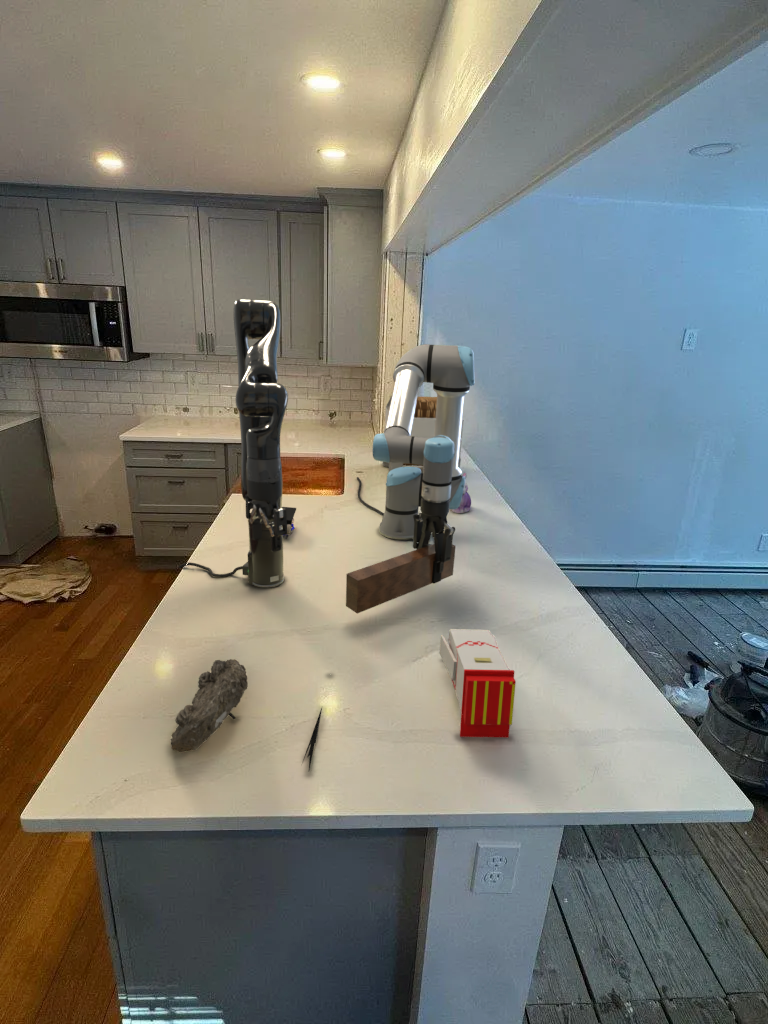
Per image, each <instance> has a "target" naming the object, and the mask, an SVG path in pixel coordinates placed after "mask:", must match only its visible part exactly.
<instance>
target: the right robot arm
mask: <svg viewBox="0 0 768 1024" xmlns="http://www.w3.org/2000/svg"><path fill="white" fill-rule="evenodd" d="M392 379H393V384H394V385H393V388H392V393H391V396H392V397H391V396H390V398H391V402H390V406H389V411H388V415H387V420H386V423H384V424H385V425H384V428H383V432H382V433H376V434H375V435H374V437H373V441H372V449H371V450H372V458H373V460H374V461H376V462H382V463H383V462H388V463H389V462H392V463H407V464H418V465H423V466H422V467H423V468H422V469H421V468H420V467H419V466H417V467H416V466H403V467H400V468H396V469H393V470H391V471H390V472H389V471H388V473H387V475H386V482H385V504H384V505H385V507H384V508H385V509H384V511H383V512H382V511H381V510H379V509H378V508H376V507H374V506H372V505H370V504H368V503H367V502H365V501H364V500H363V499H362V497H361V488H362V481H361V479H360V478H359V477H358V476H357V477H356V480H357V482H358V489H357V498H358V500H359V501H360V503H362V504H363V505H364V506H365V507H367V508H369V509H371V510H373V511H375V512H376V513H378V514H380V515H381V516H382V519H381V522H379V526H378V533H379V534H380V535H381V536H382V537H385V538H387V539H389V540H395V541H410V540H412V542H413V543H412V547H413V549H415V550H416V549H420V548H423V547H426V546H428V544H430V540H431V536H432V538H433V544H434V545H435V555H436V560H435V561H433V574H432V584H433V585H434V584H437V583H439V582H441V581H442V580H441V572H443V568H444V562H447V561H449V560H451V551H452V545H453V540H454V534H455V532H456V527H455V526H451V525H450V524H449V523H448V519H447V518H448V515H449V513H450V510H451V509H457V508H458V507H459V506H460V502H461V499H462V495H463V490H464V485H465V477H464V476H463V474H462V473H463V471H462V469H461V468H460V469H459V467H458V458H459V447H460V440H461V438H460V436H461V425H462V419H463V414H464V413H463V412H464V402H465V396H466V395H467V394H468V393H469V392H470V388H471V387H472V386H474V385H475V383H476V381H475V379H476V378H475V353H474V350H473V348H472V347H470V346H464V345H455V344H454V345H451V344H450V345H449V344H430V343H429V344H428V343H425V344H424V343H423V344H419V345H417V346H413V347H412V348H411V349H409V350H408V351H406V352H405V353H404V354H403V355H402V356H401V357H400V358H399V360H398V361H397V362H396V365H395V367H394V370H393V373H392ZM424 383H428V384H429V383H430V384H432V390H433V391H434V392H435V394H436V397H437V405H436V419H435V433H434V437H433V438H429V437H415V436H411V430H412V425H413V419H414V414H415V408H416V402H417V397H419V390H420V387H422V385H423V384H424ZM419 508H420V509H419ZM419 510H420V512H419Z"/></svg>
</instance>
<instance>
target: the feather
mask: <svg viewBox="0 0 768 1024" xmlns="http://www.w3.org/2000/svg"><path fill="white" fill-rule="evenodd" d="M329 675H330V676H331V675H332V674H331V673H330V674H329ZM322 710H323V707H321V708H320V710H319V713H318V716H317V719H316V723H315V725H314V728H313V731H312V733H311V737H310V739H309V742H308V745H307V748H306V751H305V754H304V757H303V760H302V763H301V767H302V765H303V763H304V761H305V758H308V759H309V760H308V762H307V763H308V764H307V766H308V771H310V770H311V766H312V765H311V764H312V760H313V757H315V756H314V755H315V751H316V749H315V746H317V739H318V733H319V729H320V722H321V717H322V712H323V711H322ZM313 754H314V755H313ZM306 755H307V757H306Z"/></svg>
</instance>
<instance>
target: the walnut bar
mask: <svg viewBox="0 0 768 1024" xmlns="http://www.w3.org/2000/svg"><path fill="white" fill-rule="evenodd" d="M431 544H432V543H431ZM455 555H456V545H454V544H452V551H451V560H449V561H447V562H444V568H443V572H441V581H442V580H445V579H447V578H449V577H451V576H453V575H454V567H455V557H456V556H455ZM435 560H436V555H435V545H434V543H433V544H432V545H429V546H426V547H423V548H420V549H417V550H416V549H415V550H412V551H409V552H406V553H403V554H400V555H397V556H394V557H391V558H389V559H385V560H382V561H380V562H376V563H374V564H370V565H368V566H366V567H362V568H359V569H356V570H353V571H351V572H348V573H346V577H345V578H346V585H345V607H347V608H348V609H350V610H351V611H352V612H354V613H356V614H359V613H362V612H365V611H367V610H369V609H372V608H375V607H377V606H380V605H383V604H385V603H388V602H389V601H392V600H394V599H397V598H399V597H402V596H405V595H407V594H409V593H412V592H415V591H417V590H420V589H422V588H424V587H427V586H429V585H432V584H433V583H432V574H433V561H435Z"/></svg>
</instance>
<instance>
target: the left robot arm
mask: <svg viewBox="0 0 768 1024" xmlns="http://www.w3.org/2000/svg"><path fill="white" fill-rule="evenodd" d="M281 318H282V317H281V310H280V307H279V305H278V303H277V302H276V301H273V300H269V299H268V300H267V299H256V298H255V299H253V298H252V299H250V298H238V299H236V300H235V302H234V304H233V327H234V329H233V330H234V339H235V348H236V358H237V377H238V378H237V379H238V381H237V382H238V383H237V384H238V387H237V390H236V393H235V407H236V409H237V411H238V414H239V415H238V416H239V417H238V418H239V428H240V429H239V430H240V442H241V443H240V446H241V449H240V450H241V453H240V455H241V456H240V457H241V459H240V461H241V462H240V489H241V490H240V491H241V496H242V499H243V500H244V501H245V518H246V519H247V521H248V522H247V524H248V546H249V547H248V549H249V550H248V552H247V561H246V562H245V563H244V564H243V565H241V566H237V567H235V568H234V569H233V570H232V571H231V572H228V573H214V572H213V570H212V569H211V568H210V567H207V566H205V565H203V564H201V563H195V562H183V563H182V564H180V565H179V566H178V569H182V568H184V567H186V566H188V567H189V566H193V567H196V568H200V569H203V570H205V571H207V572H208V573H209V575H210V576H211V577H214V578H227V577H230V576H233V575H235V574H236V573H237V572H238V571H240V570H241V571H242V576H247V577H248V585H250V586H251V585H252V586H254V587H257V588H262V589H268V588H274V587H278V586H280V585H281V584H283V583H284V581H285V576H284V573H285V572H284V536H286V534H287V516H286V509H285V508H282V507H283V491H284V490H283V489H284V478H283V466H282V465H283V464H282V460H281V432H282V426H283V422H284V418H285V415H286V411H287V407H288V402H289V393H288V391H287V389H286V388H285V386H284V385H283V384H282V383H280V382H278V380H279V374H278V352H279V346H280V339H281V327H282V326H281V324H282V323H281ZM249 340H257V341H255V343H254V344H253V345H251V346H250V344H249ZM187 563H188V564H187ZM186 564H187V565H186Z"/></svg>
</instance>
